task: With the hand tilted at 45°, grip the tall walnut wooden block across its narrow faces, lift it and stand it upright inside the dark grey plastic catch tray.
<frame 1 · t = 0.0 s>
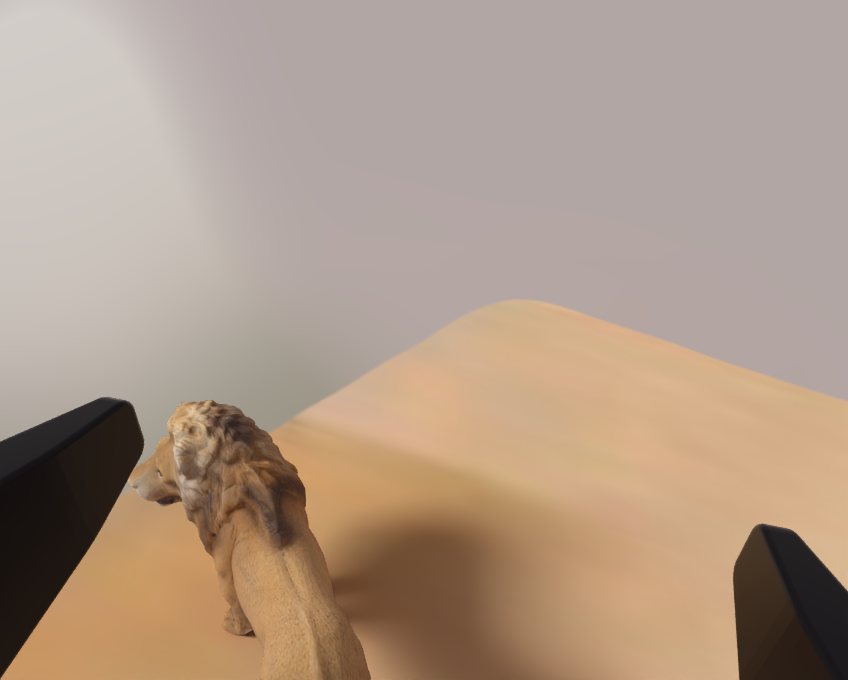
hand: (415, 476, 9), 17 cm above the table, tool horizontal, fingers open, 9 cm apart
lion figurine: (281, 669, 23), on the table
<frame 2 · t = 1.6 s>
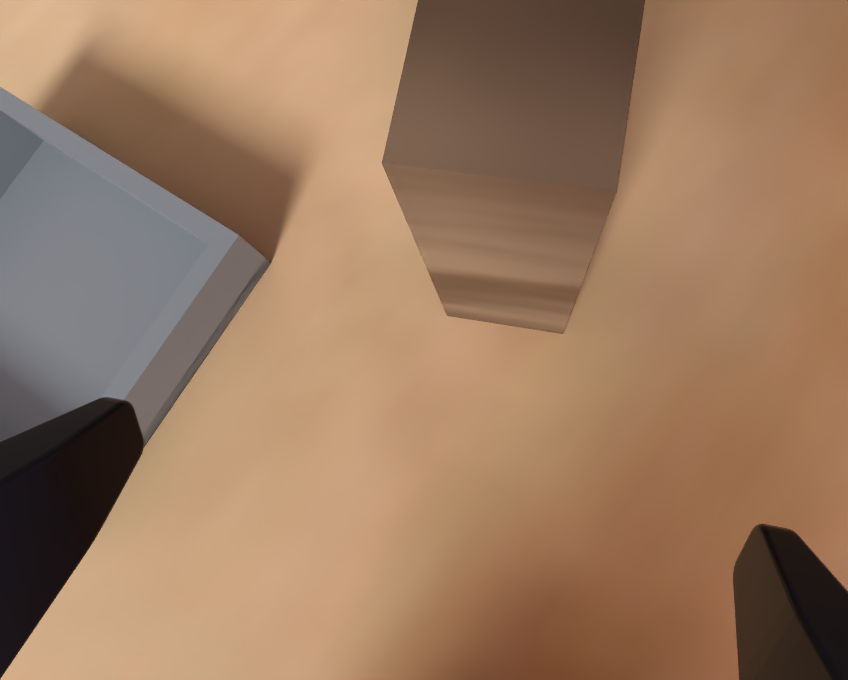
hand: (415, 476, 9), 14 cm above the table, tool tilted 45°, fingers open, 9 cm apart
catch tray: (65, 314, 26), on the table
walnut block: (514, 262, 23), on the table
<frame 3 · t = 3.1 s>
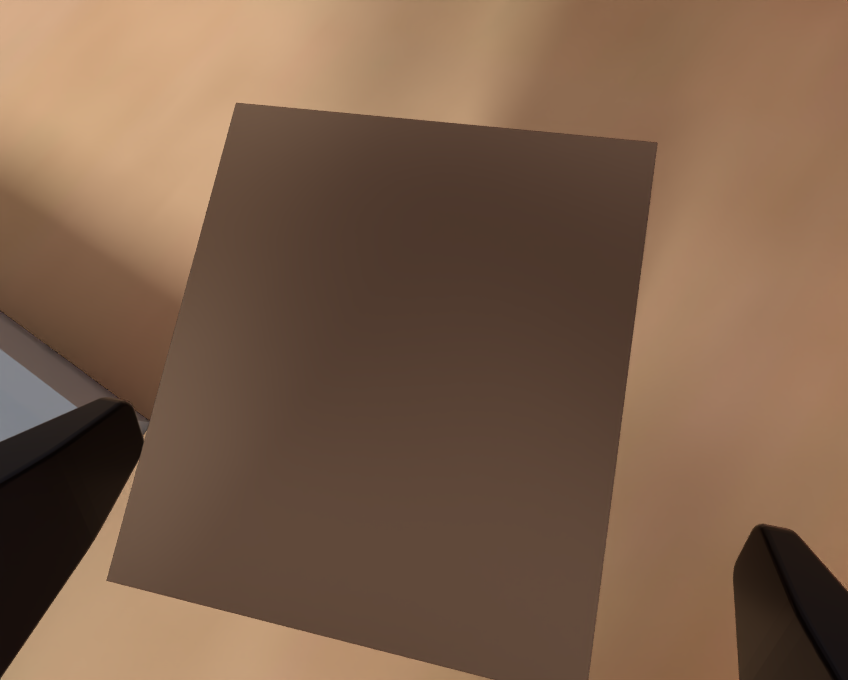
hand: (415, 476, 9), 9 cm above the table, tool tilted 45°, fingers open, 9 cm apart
walnut block: (470, 433, 17), on the table
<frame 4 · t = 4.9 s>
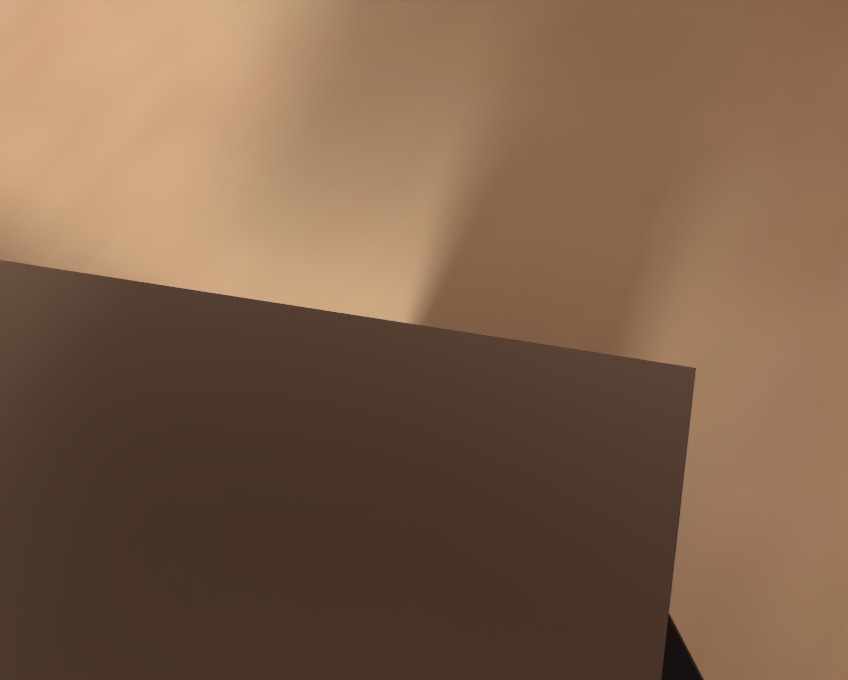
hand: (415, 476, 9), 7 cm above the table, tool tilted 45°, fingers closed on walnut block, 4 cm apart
walnut block: (446, 528, 15), on the table, touching gripper
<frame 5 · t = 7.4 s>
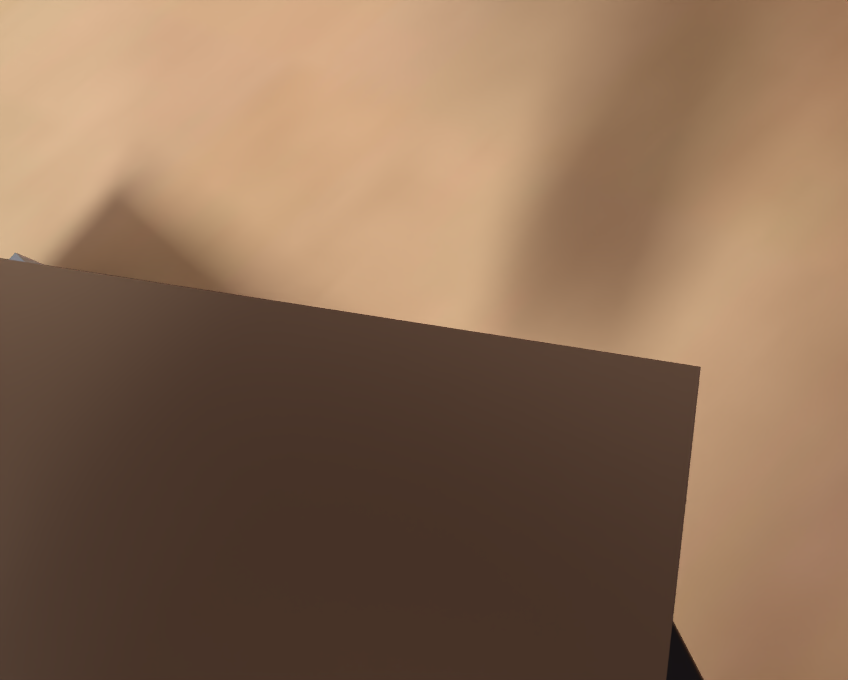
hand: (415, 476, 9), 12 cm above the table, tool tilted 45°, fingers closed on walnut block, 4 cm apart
walnut block: (447, 528, 15), point 6 cm above the table, touching gripper
when the fingers open (8 cm above the table, at t = 10.0 s): walnut block drops 1 cm, resting on catch tray.
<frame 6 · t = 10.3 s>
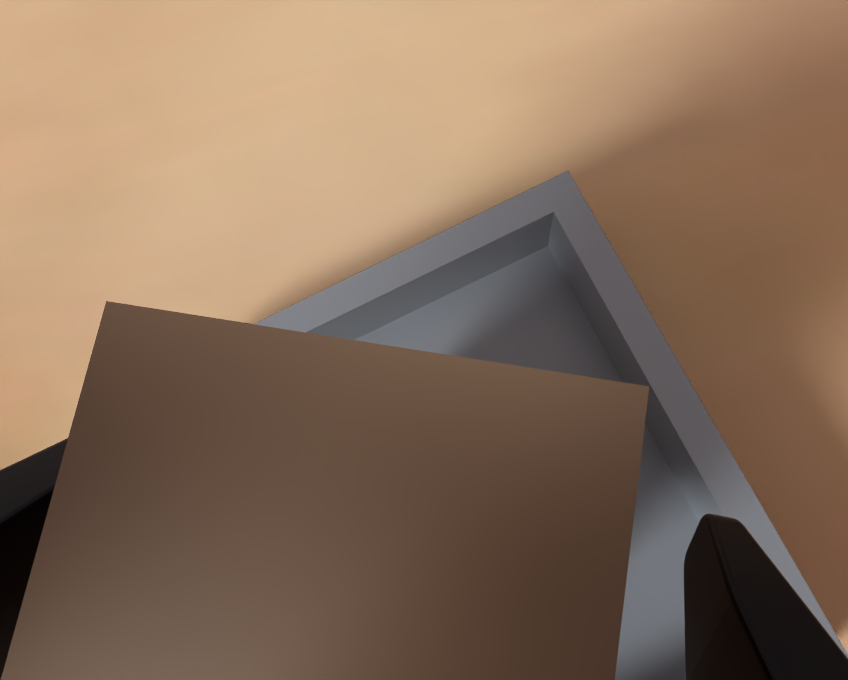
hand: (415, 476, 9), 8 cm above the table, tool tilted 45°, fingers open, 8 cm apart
catch tray: (453, 521, 17), on the table
walnut block: (451, 521, 16), point 1 cm above the table, touching catch tray
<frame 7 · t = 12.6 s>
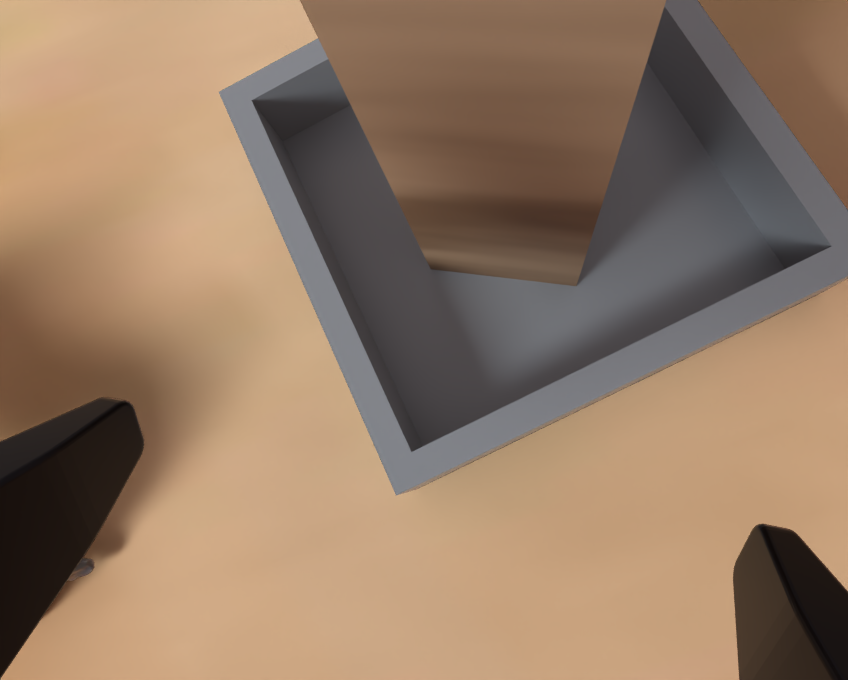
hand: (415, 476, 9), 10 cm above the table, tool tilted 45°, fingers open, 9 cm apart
catch tray: (513, 209, 19), on the table
walnut block: (513, 200, 19), point 1 cm above the table, touching catch tray
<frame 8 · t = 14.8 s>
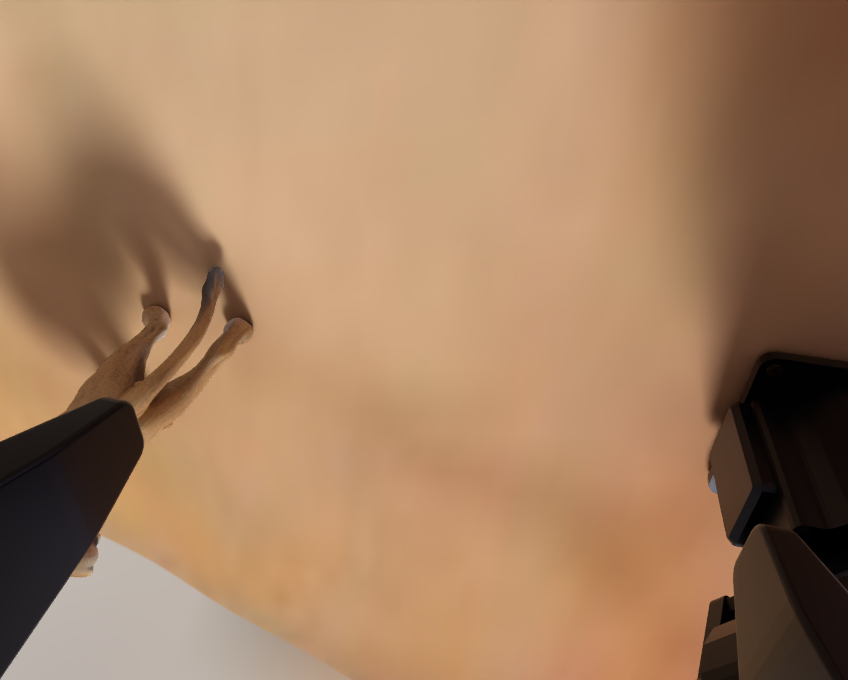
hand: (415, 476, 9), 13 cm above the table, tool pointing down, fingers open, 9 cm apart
lion figurine: (172, 376, 28), on the table
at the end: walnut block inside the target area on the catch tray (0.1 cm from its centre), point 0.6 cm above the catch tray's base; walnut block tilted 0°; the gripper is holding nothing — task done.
